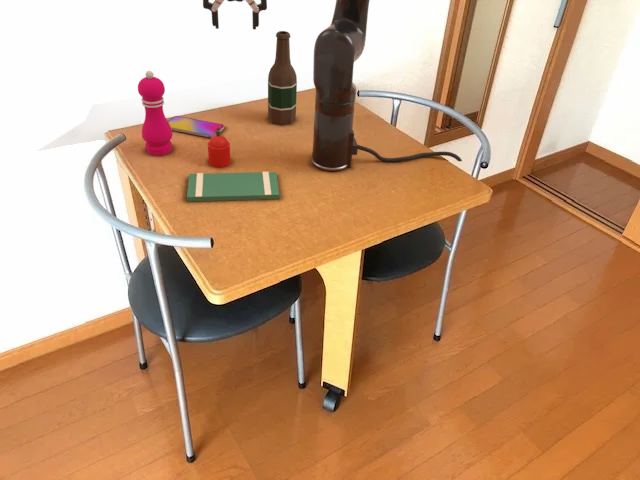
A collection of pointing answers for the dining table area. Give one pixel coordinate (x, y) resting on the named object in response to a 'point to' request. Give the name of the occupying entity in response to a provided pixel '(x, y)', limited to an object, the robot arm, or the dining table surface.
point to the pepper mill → (154, 116)
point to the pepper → (219, 151)
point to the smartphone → (195, 126)
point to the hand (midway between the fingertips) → (235, 28)
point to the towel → (232, 186)
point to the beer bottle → (282, 84)
